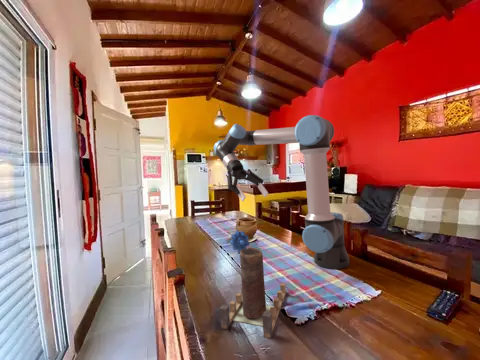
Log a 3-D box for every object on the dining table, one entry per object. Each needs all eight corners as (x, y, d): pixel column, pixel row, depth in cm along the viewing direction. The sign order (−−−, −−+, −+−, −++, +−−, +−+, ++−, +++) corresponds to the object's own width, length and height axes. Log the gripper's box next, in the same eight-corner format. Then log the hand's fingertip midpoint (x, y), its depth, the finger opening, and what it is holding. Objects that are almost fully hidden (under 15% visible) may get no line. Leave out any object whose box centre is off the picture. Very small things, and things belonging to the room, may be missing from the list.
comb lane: (287, 292, 88) (286, 276, 88) (270, 338, 66) (269, 316, 65) (248, 287, 94) (247, 272, 93) (221, 328, 71) (219, 308, 71)
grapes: (234, 256, 126) (233, 234, 126) (229, 253, 132) (227, 231, 132) (253, 251, 132) (252, 230, 131) (247, 248, 138) (245, 227, 137)
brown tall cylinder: (252, 303, 82) (248, 245, 81) (271, 310, 78) (267, 249, 77) (238, 315, 76) (233, 253, 75) (257, 323, 72) (253, 257, 71)
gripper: (249, 168, 129) (271, 198, 118) (208, 172, 114) (230, 206, 103) (255, 158, 125) (278, 188, 114) (214, 160, 109) (236, 195, 98)
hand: (255, 197), depth 108 cm, fingers open, 13 cm apart
